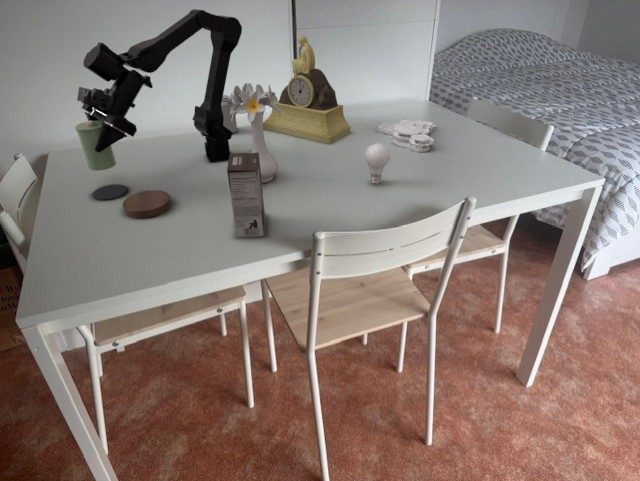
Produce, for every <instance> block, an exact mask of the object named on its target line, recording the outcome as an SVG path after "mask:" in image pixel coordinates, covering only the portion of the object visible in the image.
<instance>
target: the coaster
mask: <svg viewBox="0 0 640 481" xmlns="http://www.w3.org/2000/svg"><path fill="white" fill-rule="evenodd" d="M127 192H128V187H127V186H125V185H123V184H108V185H104V186H100V187H99V188H96V189H95V190H94V191H93V192H92V198H93V199H94V200H97V201H111V200H115V199H119V198H120V197H122V196H125V194H127Z"/></svg>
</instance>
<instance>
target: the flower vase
mask: <svg viewBox="0 0 640 481" xmlns="http://www.w3.org/2000/svg"><path fill="white" fill-rule="evenodd" d="M267 89H268V90H267V91H264V88H263V86H262V85H261V84H259V83H257V84H256V85H255V91H254V87H253V85H252V84H251V83H249V82H248V83H247V82H245V83H244V84H243V86H242V88H240V86H239V85H235V86H234V88H233V93H232V92H231V93H230V96H231V99H229V100H228V101H227V104H234V105H233V106H232V107H231V108H230V115H231V114H233V115H232V120H231V122H232V121H233V119H234V117H235V115H236V116H237V115H244V114H247V115H246V116H247V121H248V123H250V127H251V139H252V140H251V142H252V148H251V150H250V151H251V152H250V153H258V152H259V161H260V171H261V181H262V184H264V183H268V182H271V181H272V180H273V179H274V176H275V175H276V173H277V172H278V170H279V164H278V161H277V159H275V157H274V156H272V155H271V154H270V152H269V150H268V148H267V146H266V140H265V134H264V129H263V122H264V114H265V111H266V110H267V109H266V106H268V107H269V108H273V109H275V110H276V111H278V112H280V113H281V114H282V111H281V110H280V108H279V107H278V106H277V105H274V104H277V102H278V101H279V100H278V96H277V95H276V93H275V91H272V88H271V86H270V84H268V88H267Z"/></svg>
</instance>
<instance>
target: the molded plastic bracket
mask: <svg viewBox="0 0 640 481" xmlns="http://www.w3.org/2000/svg"><path fill="white" fill-rule="evenodd" d="M436 129H437V124H435V122H431V121H427V120H420V119H418V120H410V119H402V120H397V121H396V122H395V123H391V122H385V121H384V122H383V123H381V124H379V125H378V126H377V127H376V130H375V131H376V132H379V133H382V134H386V135H389V136H393V137H392V143H393V144H395V145H396V146H399V147H402V148H406V149H409V150H412V151H414V152H418V153H424V152H425V153H426V152H428V151H430V147H431V145H433V144H434V143H435V139H434V138H433V137H431V136H430V135H429V134H430V133H432V132H433V131H434V130H436Z"/></svg>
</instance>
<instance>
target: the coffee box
mask: <svg viewBox="0 0 640 481" xmlns="http://www.w3.org/2000/svg"><path fill="white" fill-rule="evenodd" d="M227 161H228V162H227V166H226V167H227V168H226V172H227V180H228V186H229V195H230V202H231V210H232V218H233V226H234V231H235V232H234V233H235V238H237V239H238V238H240V239H241V238H257V237H265V229H266V227H265V226H266V212H265V211H266V210H265V204H264V192H263V183H262V181H261V171H260V161H259V152H258V153H251V152H230V155H229V159H228V160H227Z"/></svg>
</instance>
